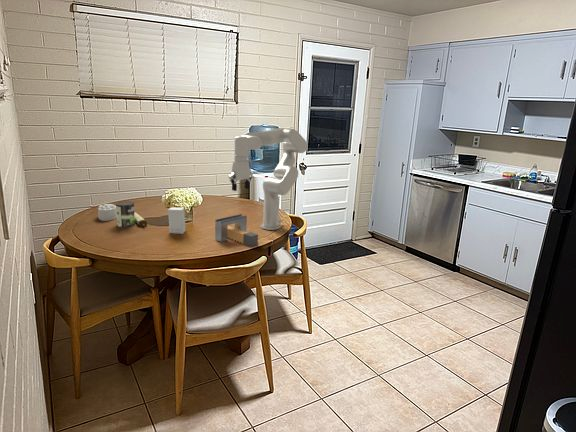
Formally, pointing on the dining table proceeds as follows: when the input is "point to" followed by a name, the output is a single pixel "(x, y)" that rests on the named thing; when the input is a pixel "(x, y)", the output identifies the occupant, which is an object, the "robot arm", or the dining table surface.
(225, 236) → the grey arch-shaped block
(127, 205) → the coffee can
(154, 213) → the dining table surface
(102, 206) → the lumpy-topped squat cylinder
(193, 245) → the dining table surface
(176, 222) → the skincare box
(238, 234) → the plug
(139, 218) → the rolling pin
